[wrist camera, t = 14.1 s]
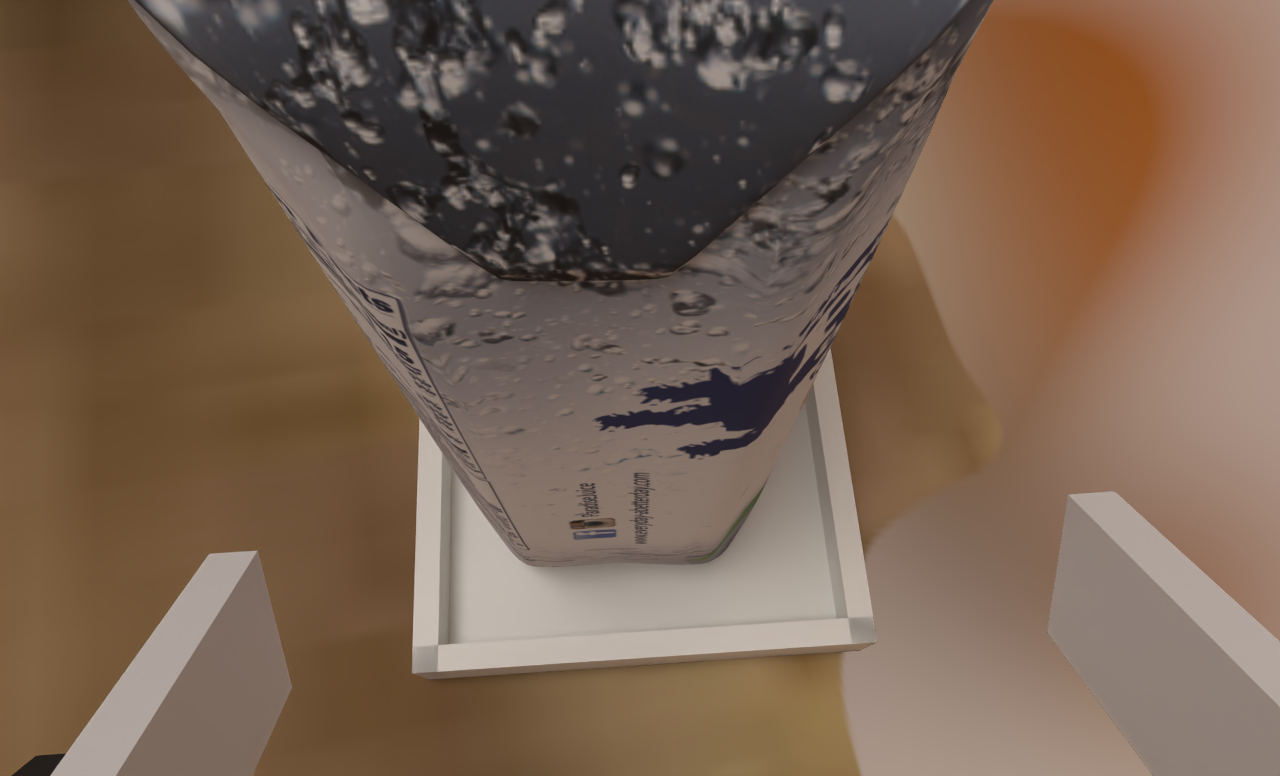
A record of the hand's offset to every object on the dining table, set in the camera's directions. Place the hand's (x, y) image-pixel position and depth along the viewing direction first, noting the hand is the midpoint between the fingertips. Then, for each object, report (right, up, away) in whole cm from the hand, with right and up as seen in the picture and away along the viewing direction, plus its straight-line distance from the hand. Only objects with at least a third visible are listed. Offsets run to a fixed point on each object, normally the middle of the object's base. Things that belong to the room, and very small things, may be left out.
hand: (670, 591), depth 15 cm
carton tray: (-1, +1, +19) cm, 19 cm away
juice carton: (-1, +1, +18) cm, 18 cm away
